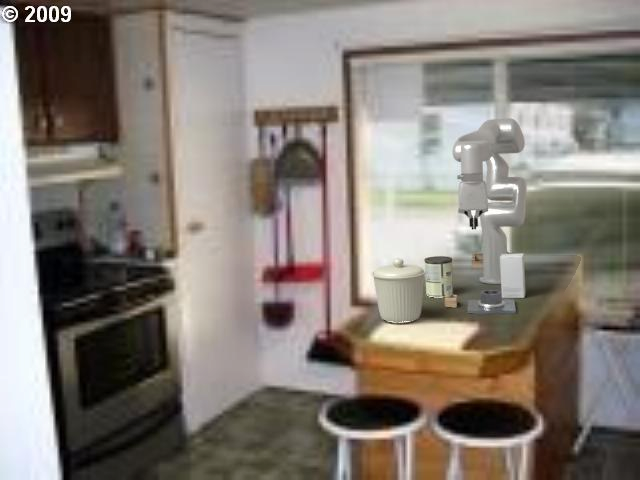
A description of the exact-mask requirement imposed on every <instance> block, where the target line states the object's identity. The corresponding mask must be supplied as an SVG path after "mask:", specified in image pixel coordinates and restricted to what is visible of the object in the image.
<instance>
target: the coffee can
mask: <svg viewBox="0 0 640 480" xmlns="http://www.w3.org/2000/svg"><path fill="white" fill-rule="evenodd" d="M452 261H453V258H452V257H451V256H446V255H445V256H443V255H439V256H438V255H437V256H436V255H435V256H430V257H425V258H424V270H425V271H426V274H425V275H424V278H425V292H426V294H425V296H426V295H427V296H429V297H428V298H430V297H434V298H433V299H444V298H443V297H445V296H446V295H449V294H448V293H453V294H454V287H453V286H454V284H453V262H452ZM427 296H426V297H427Z"/></svg>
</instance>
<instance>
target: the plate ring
mask: <svg viewBox="0 0 640 480" xmlns="http://www.w3.org/2000/svg"><path fill="white" fill-rule="evenodd" d="M479 295H480V300H481V303H482V304H486V305H496V304H501V303H502V300H503V298H502V290H496V289H486V290H481V291H480V294H479Z"/></svg>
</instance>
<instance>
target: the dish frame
mask: <svg viewBox="0 0 640 480" xmlns="http://www.w3.org/2000/svg"><path fill="white" fill-rule="evenodd" d="M508 253H509V254H517V252H508ZM473 269H474V270H478V269H479V270H480V269H482V270H483V252H482V253H479V252H478V253H471V270H473Z"/></svg>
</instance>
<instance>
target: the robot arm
mask: <svg viewBox="0 0 640 480" xmlns="http://www.w3.org/2000/svg"><path fill="white" fill-rule="evenodd" d="M525 143H526V142H525V137H524V133H523V131H522V129H521V127H520V124H519V123H518V121H516V120H515V119H514V118H495V119H494V118H493V119H488V120H486V121H483V123H482V124H481V125H480V127H479V128H478V129H477V130H473V131H471V132H469V133H466V134H464V135H462V136H459V137H458V139H457V140H456V141H455V143H454V144H453V147H452V156H453V159H454V160H455V161H456V162H458V163H460V170H461V174H459V175H457V177H456V179H457V180H461V181H460V182H459V184H458V199H457V200H458V201H457V202H458V209H457V211H458V213H459V214H462V215H465V216H466V217H467V218H468V219H469V228H471V230H477V227H479V219H480V226H481V232H482V233H481V234H482V235H481V237H482V243H481V244H482V253H483V260H482V261H483V269H482V270H483V271H482V274H483V275H482V276H481V277H479V280H478V281H479V282H480V283H483V284H488V285H489V284H490V285H497V284H498V285H501V269H500V256H501V255H502V254H507V252H508V240H507V239H508V237H507V235H506V233H505V232H504V231H503V229H502V228H503V227H506V228H507V227H508V228H509V227H511V228H512V227H521V226H522V225H523V224H524V223H525V218H526V203H527V184H526V181H525V179H524V178H523V177H521V176H509V169H510V167H509V163H507V162H506V160H505V159H504V158H503V157H502V156H501V155H502V154H503V155H504V154H519V153H522V151H524V148H525V145H526V144H525ZM500 154H501V155H500ZM483 162H485V164H486V178H485V180H484V168H483V167H484V164H483ZM488 200H490V201H492V202H489V201H488ZM493 201H496V202H493ZM504 201H505V202H504ZM506 201H507V202H506ZM472 211H475V214H474V216H473V215H472Z"/></svg>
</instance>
